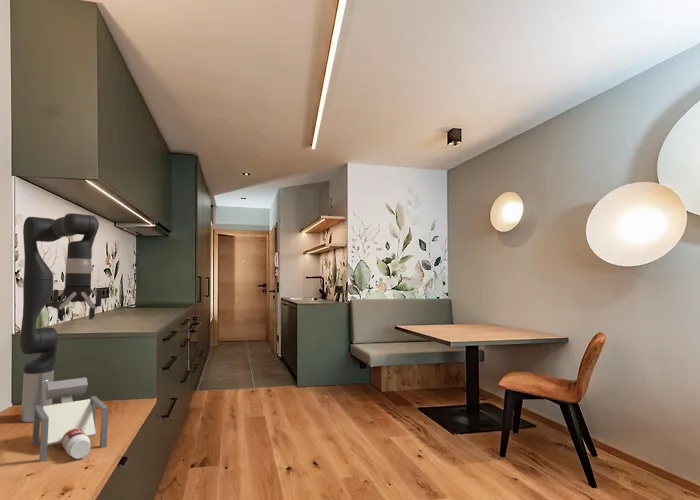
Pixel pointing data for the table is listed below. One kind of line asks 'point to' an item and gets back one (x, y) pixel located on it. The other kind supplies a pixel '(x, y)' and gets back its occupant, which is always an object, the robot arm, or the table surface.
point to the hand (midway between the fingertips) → (76, 320)
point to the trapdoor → (68, 409)
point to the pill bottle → (76, 443)
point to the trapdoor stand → (41, 414)
